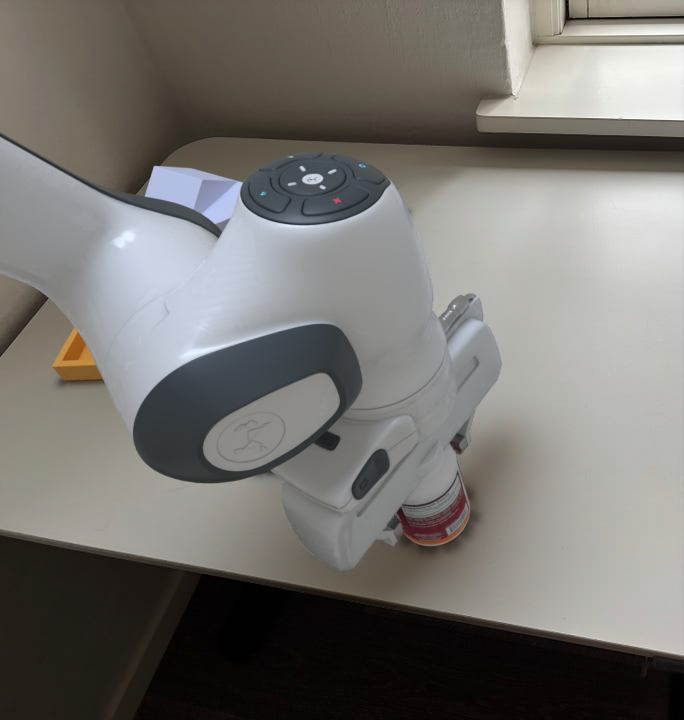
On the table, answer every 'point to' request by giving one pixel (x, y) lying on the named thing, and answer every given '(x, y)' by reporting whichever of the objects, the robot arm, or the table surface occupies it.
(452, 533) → the pill bottle
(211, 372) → the robot arm
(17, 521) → the table surface
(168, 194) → the wedge on round base
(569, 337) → the table surface
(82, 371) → the amber tray
